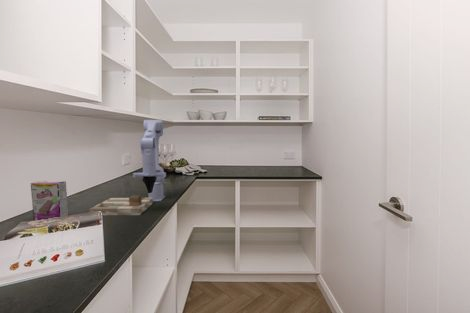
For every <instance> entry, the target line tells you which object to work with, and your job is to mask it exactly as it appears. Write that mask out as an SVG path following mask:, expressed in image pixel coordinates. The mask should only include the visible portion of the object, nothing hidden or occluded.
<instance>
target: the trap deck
mask: <svg viewBox="0 0 470 313" xmlns="http://www.w3.org/2000/svg"><path fill="white" fill-rule="evenodd" d="M141 201H142V204H140V205H139V206H129V197H109V198H108V199H106V200H104V201H102V202H100V203H98V204H96V205H95V206H93V207H90V208H89V213H90V212H96V211H101V212H102V215H101V216H141V215H142V214H143V213H145V211H146V210H148V209H149V208H150V207H151V206H152V205H153V204H154V201H153V198H148V197H141Z"/></svg>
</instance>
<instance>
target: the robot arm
mask: <svg viewBox="0 0 470 313" xmlns="http://www.w3.org/2000/svg"><path fill="white" fill-rule="evenodd" d="M143 130H144V133H143V137H142V138H140V140H139V145H140V153H141V155H142V156H141V157H142V158H141V160H142V172H133V173H132V178H142V182H143V184H144V185H145V187H146V190H147V193H148V194H147V195H148V197H147V198H153V202H161V201H162V200H164V198H165V197H166V195H164V185H163V183H164V182H165V178H166V177H167V172H165V170H164V168H163V166H162V167H161V166H160V163H159V162H160V160H159V159H160V158H159V156H160V154H159V153H160V150H159V148H160V146H159V144H160V143H159V142H160V138H161V137H162V136H163V135H164V121H163V120H162V119H144V120H143Z"/></svg>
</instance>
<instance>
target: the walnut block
mask: <svg viewBox="0 0 470 313" xmlns="http://www.w3.org/2000/svg"><path fill="white" fill-rule="evenodd" d="M128 198H129V206H139V205H140V204H142V201H141V198H142V194H140V195H139V194H137V195H134V194H133V195H131V196H129V197H128Z"/></svg>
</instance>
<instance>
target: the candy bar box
mask: <svg viewBox="0 0 470 313" xmlns="http://www.w3.org/2000/svg"><path fill="white" fill-rule="evenodd" d="M30 190H31V191H30V192H31V194H30V195H31V201H32V202H31V204H32V214H33V215H32V216H33V221H34V220H41V219H48V218H53V217H60V216H67V215H68V216H69V211H68V210H69V209H68V196H67V194H68V193H67V181H66V180H38V181H34V182H30Z"/></svg>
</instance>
